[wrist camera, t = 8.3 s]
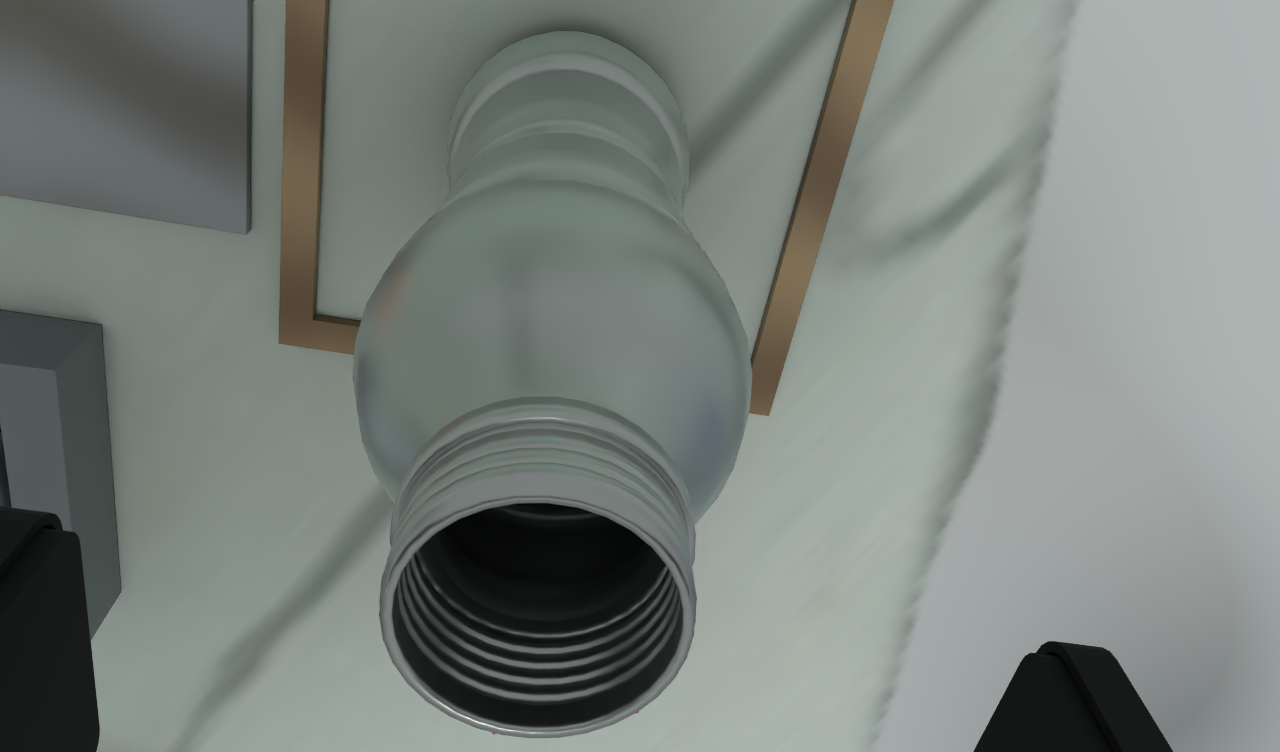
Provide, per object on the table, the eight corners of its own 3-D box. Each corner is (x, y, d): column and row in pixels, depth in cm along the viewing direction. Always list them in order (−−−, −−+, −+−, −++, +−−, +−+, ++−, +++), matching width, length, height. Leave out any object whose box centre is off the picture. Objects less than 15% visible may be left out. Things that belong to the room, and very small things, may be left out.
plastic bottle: (673, 3, 27) (829, 324, 9) (688, 235, 30) (824, 796, 13) (439, 26, 27) (151, 388, 9) (480, 256, 30) (324, 843, 13)
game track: (766, 409, 33) (768, 415, 33) (-463, 226, 28) (-476, 231, 28) (921, -106, 26) (925, -105, 25) (-715, -474, 21) (-737, -479, 20)
